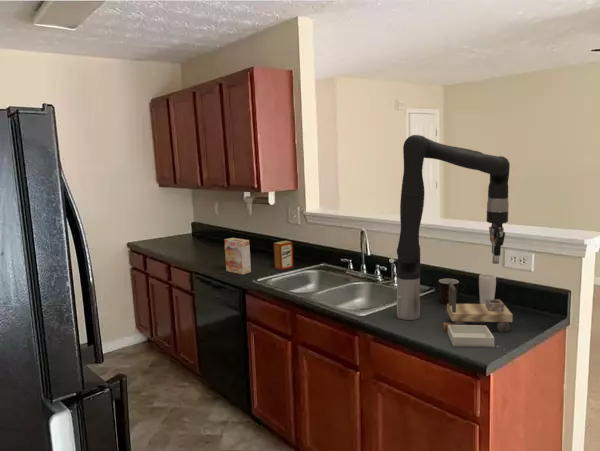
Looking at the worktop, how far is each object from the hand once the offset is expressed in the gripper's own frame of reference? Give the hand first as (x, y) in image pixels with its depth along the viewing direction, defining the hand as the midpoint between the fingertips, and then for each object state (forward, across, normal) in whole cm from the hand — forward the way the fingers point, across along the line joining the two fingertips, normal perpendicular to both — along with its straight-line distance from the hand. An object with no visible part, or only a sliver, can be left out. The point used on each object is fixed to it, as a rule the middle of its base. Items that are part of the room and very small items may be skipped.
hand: (496, 254), depth 184 cm
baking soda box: (+29, -93, -99) cm, 139 cm away
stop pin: (+3, 0, 0) cm, 3 cm away
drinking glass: (+29, -20, +2) cm, 36 cm away
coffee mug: (+29, -29, -11) cm, 43 cm away
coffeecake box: (+30, -84, -125) cm, 153 cm away
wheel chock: (+29, +5, -18) cm, 35 cm away
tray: (+29, +14, -12) cm, 34 cm away
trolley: (+29, 0, -6) cm, 30 cm away
